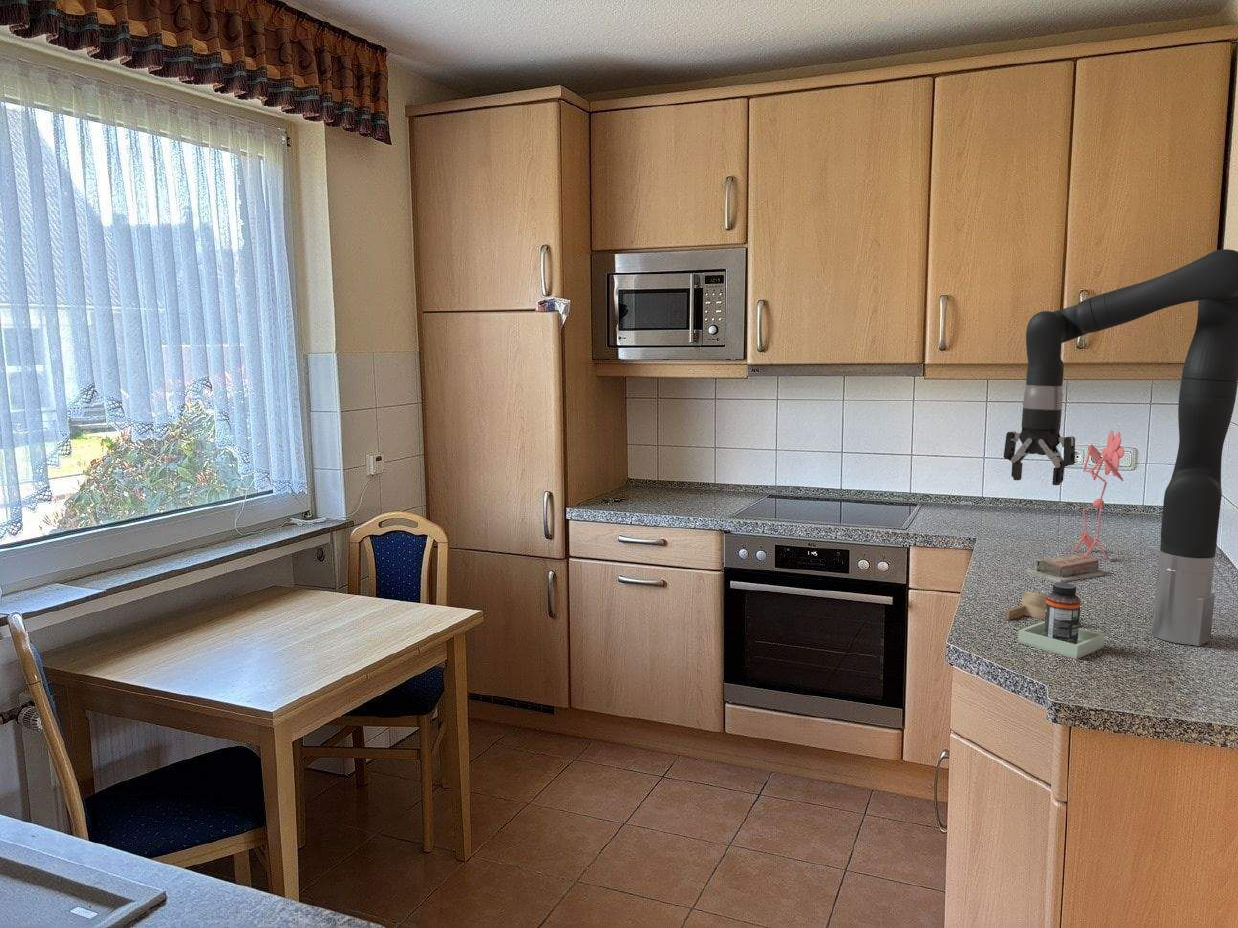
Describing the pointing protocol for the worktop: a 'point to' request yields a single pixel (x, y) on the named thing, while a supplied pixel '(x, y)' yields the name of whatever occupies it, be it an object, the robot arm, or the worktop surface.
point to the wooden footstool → (1028, 607)
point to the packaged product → (1066, 568)
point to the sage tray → (1084, 645)
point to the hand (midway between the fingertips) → (1036, 482)
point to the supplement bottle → (1062, 613)
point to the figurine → (1111, 464)
